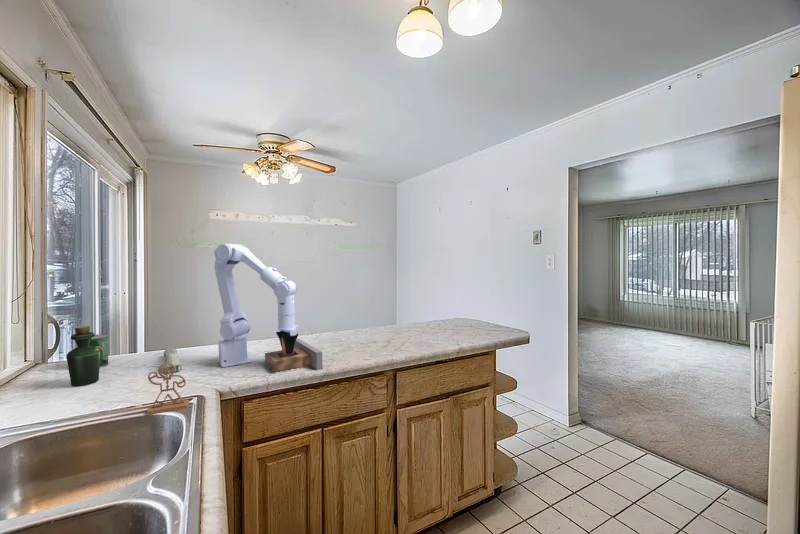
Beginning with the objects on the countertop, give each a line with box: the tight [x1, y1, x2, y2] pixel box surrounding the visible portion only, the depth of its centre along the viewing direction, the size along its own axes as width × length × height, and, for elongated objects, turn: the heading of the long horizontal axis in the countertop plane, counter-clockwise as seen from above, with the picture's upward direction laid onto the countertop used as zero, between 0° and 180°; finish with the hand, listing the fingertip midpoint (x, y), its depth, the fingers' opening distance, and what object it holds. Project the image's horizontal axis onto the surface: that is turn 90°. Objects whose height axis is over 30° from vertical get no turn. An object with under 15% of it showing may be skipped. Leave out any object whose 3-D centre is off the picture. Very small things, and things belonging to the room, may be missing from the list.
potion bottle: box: [66, 325, 101, 388], centre depth 110 cm, size 8×8×18 cm
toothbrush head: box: [163, 347, 183, 373], centre depth 129 cm, size 5×7×25 cm
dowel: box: [281, 339, 294, 357], centre depth 125 cm, size 4×4×8 cm
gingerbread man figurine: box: [145, 362, 190, 416], centre depth 90 cm, size 9×4×12 cm, turn 116°
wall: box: [294, 338, 323, 371], centre depth 129 cm, size 2×24×6 cm, turn 35°
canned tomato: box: [89, 333, 110, 369], centre depth 128 cm, size 8×8×11 cm
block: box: [264, 347, 312, 373], centre depth 125 cm, size 12×12×4 cm
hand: (287, 352), depth 125 cm, fingers closed on dowel, 4 cm apart
